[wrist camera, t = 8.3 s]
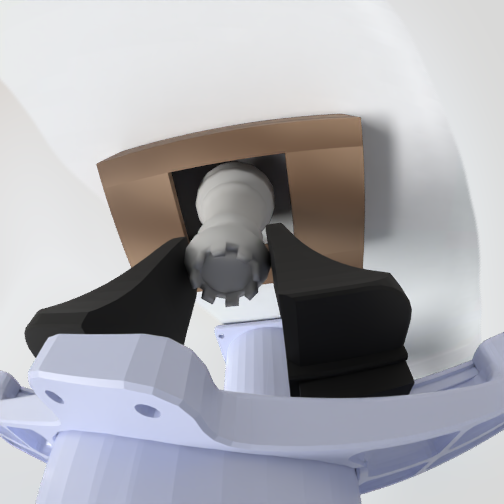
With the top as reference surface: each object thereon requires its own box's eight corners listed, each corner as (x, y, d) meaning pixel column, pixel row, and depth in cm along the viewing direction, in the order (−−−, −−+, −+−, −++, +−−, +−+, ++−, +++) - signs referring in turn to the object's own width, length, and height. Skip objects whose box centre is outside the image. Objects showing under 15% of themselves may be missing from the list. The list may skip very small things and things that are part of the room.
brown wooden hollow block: (347, 243, 20) (362, 270, 17) (157, 268, 21) (143, 297, 18) (341, 113, 15) (360, 117, 12) (121, 151, 17) (96, 163, 14)
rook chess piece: (277, 161, 16) (298, 224, 9) (271, 231, 18) (282, 326, 11) (197, 158, 16) (155, 219, 9) (199, 228, 18) (170, 321, 11)
